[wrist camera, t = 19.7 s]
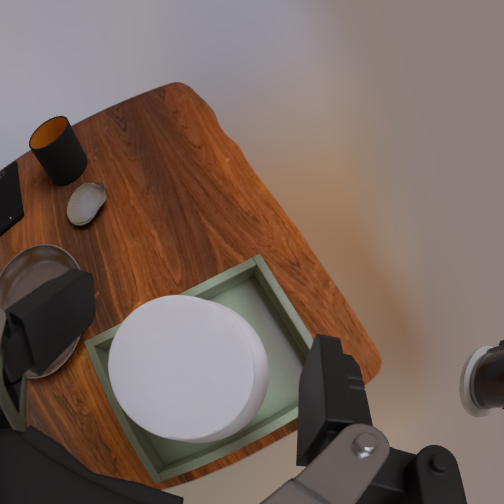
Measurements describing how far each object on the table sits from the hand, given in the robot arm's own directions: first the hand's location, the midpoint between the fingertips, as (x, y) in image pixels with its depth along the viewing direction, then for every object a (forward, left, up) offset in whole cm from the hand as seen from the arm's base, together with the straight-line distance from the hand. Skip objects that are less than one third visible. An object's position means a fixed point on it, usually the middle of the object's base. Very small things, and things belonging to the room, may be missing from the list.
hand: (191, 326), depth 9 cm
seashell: (-1, -33, -28) cm, 44 cm away
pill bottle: (+1, +1, -10) cm, 10 cm away
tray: (+1, +1, -28) cm, 28 cm away
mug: (-3, -47, -28) cm, 55 cm away
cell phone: (+13, -53, -28) cm, 62 cm away
